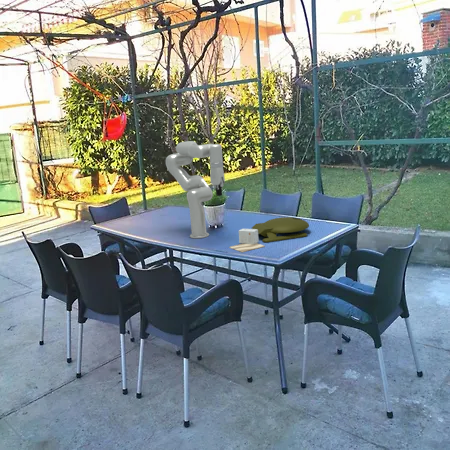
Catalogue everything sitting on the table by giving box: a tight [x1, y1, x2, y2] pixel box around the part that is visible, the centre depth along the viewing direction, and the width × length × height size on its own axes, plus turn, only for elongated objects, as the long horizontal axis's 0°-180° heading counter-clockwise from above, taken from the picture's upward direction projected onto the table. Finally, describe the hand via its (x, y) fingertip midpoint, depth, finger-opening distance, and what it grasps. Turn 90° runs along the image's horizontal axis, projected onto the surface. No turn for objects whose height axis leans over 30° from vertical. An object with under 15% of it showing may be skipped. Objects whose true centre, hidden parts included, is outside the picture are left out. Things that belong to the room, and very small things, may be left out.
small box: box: [238, 228, 260, 244], centre depth 284 cm, size 8×6×10 cm
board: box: [228, 242, 266, 253], centre depth 277 cm, size 14×16×1 cm
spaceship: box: [251, 216, 310, 244], centre depth 300 cm, size 35×31×10 cm
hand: (219, 195), depth 287 cm, fingers closed
